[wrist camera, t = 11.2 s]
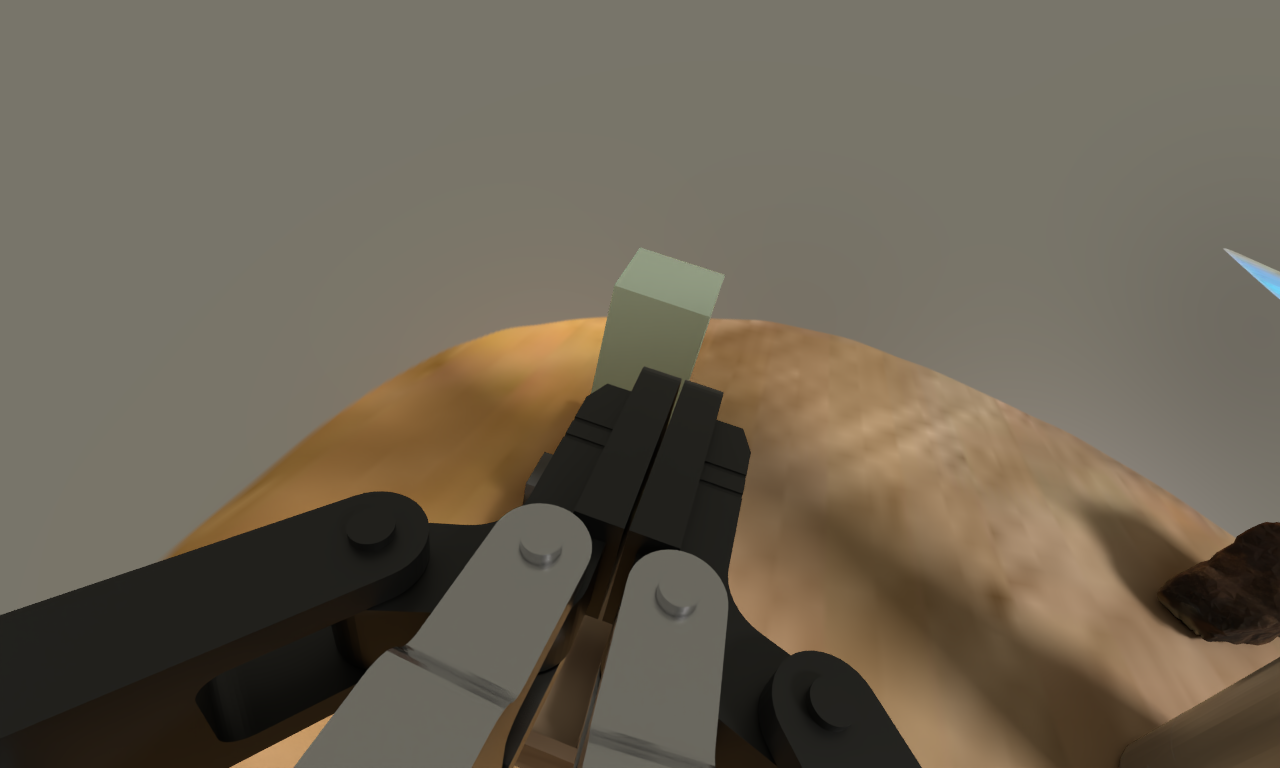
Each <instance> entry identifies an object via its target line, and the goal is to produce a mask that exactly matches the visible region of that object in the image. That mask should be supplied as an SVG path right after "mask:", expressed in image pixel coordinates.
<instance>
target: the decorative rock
mask: <svg viewBox="0 0 1280 768" xmlns="http://www.w3.org/2000/svg"><path fill="white" fill-rule="evenodd" d="M1157 597H1158V599H1159V601H1160V602H1161V603H1162V604H1163V605H1164V606H1165V607H1166V608H1168V609H1169V610H1170V611H1171V612H1172V613H1173V614H1174V616H1175V617H1177V618H1179V619H1181V620H1182V622H1183V623H1185V624H1186V625H1187V626H1188V627H1189V629H1191V630H1193V631H1194V632H1195V633H1196V634H1197V635H1199V634H1200V635H1202V638H1203V639H1204V640H1206V641H1208V642H1212V641H1226V642H1230V643H1233V644H1236V645H1237V644H1242V643H1246V644H1253V645H1262V644H1266V643H1269V642H1271V641H1272V640H1274V639H1275V638H1276V637H1277V636H1278V637H1280V523H1278V522H1276V523H1269V522H1265V523H1262V524H1259V525H1257V526H1255V527H1252V528H1250V529H1248V530H1247V531H1245V532H1244V533H1242V534H1240V535H1238V536H1237V537H1236V539H1235V542H1234V543H1233V544H1231V545H1229V546H1227V547H1226V548H1224V549H1222V550H1221V551H1219V552H1217V553H1216V554H1215V555H1214V556H1213V557H1212V558H1211V559H1210V560H1208V561H1204V562H1201V563H1199V564H1197V565H1196V566H1194V567H1192V568H1190V569H1188V570H1186V571H1184V572H1181V573H1180V574H1178V575H1176V576H1175V577H1173V578H1172V579H1170V580H1169V581H1167V582H1166V583H1165V585H1164V586H1163V587H1162V588H1160V589H1159V591H1158V593H1157Z"/></svg>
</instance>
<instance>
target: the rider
mask: <svg viewBox="0 0 1280 768" xmlns="http://www.w3.org/2000/svg"><path fill="white" fill-rule="evenodd" d="M724 276H725V275H723V274H720V273H717V272H714V271H711V270H708V269H705V268H702V267H699V266H696V265H692V264H690V263H686V262H683V261H680V260H677V259H674V258H671V257H668V256H665V255H662V254H659V253H656V252H653V251H649V250H646V249H643V248H640V249H639V250H638V252H637V253H636V255H635V256H634V258H633V259H632V260H631V262H630V263H629V265H628V266H627V268H626V269H625V271H624V272H623V273H622V275H621V276H620V278H619V280H618V281H617V282H616V284H615V285H614V290H613V294H612V299H611V303H610V308H609V313H608V317H607V322H606V326H605V331H604V336H603V340H602V345H601V350H600V354H599V359H598V364H597V368H596V373H595V378H594V382H593V387H592V392H591V394H592V393H593V392H595V391H596V390H598V389H599V388H601V387H602V386H604V385H606V384H607V383H608V384H611V385H614V386H617V387H620V388H623V389H626V390H628V391H632V389H633V387H634V385H635V383H636V381H637V379H638V376H639V374H640V372H641V370H642V368H643V367H644V366H645V367H648V368H651V369H654V370H657V371H660V372H663V373H666V374H669V375H672V376H675V377H678V378H681V379H682V381H681V384H680V388H679V391H678V394H677V398H676V401H675V404H674V407H673V410H672V414H673V411H674V408H675V406H676V403H677V400H678V398H679V395H680V392H681V390H682V387H683V384H684V382H685V380H688V381H689V380H690V377H691V374H692V371H693V368H694V365H695V362H696V359H697V356H698V353H699V350H700V347H701V344H702V341H703V338H704V336H705V333H706V330H707V327H708V324H709V321H710V318H711V315H712V312H713V309H714V306H715V303H716V300H717V297H718V294H719V291H720V288H721V285H722V282H723V279H724ZM672 414H671V416H672ZM670 419H671V417H670ZM669 422H670V420H669ZM668 424H669V423H668Z"/></svg>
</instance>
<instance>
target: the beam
mask: <svg viewBox="0 0 1280 768" xmlns="http://www.w3.org/2000/svg"><path fill="white" fill-rule="evenodd" d="M552 456H553V455H552V454H549V453H546V452H544V454H543V456H542V457H541V459H540V461H539V462H538V464H537V466H536V467H535V469H534V471H533V472H532V474H531V476H530V478H529V479H528V481H527V483H526V487H525V494H524V501H523V504H524V503H525V502H526V501H527V499H528V498H529V496H530V494H531V493H532V491H533V489H534V487H535V486H536V484H537V482H538V481H539V479H540V477H541V475H542V474H543V472H544V470H545V468H546V467H547V465H548V463H549V461H550V460H551V458H552ZM620 559H621V558H620ZM619 562H620V561H619ZM618 566H619V564H618ZM617 569H618V567H617ZM617 569H616V572H617ZM616 572H615V575H614V577H613V580H612V583H611V586H610V588H609V591H608V594H607V596H606V599H605V602H604V604H603V607H602V610H601V613H600V615H599V618H598V619H595V618H593V617H590V616H587V615H585V616H584V618H583V621H582V624H581V626H580V629H579V631H578V634H577V636H576V639H575V641H574V644H573V646H572V648H571V650H570V652H569V653H568V654H567V656H566V658H565V661H564V664H563V666H562V668H561V670H560V672H559V674H558V676H557V678H556V680H555V682H554V684H553V686H552V688H551V690H550V693H549V695H548V697H547V699H546V701H545V703H544V705H543V707H542V709H541V711H540V713H539V715H538V717H537V719H536V721H535V723H534V726H533V728H532V730H531V732H530V734H529V736H528V738H527V740H526V742H525V744H524V746H523V748H522V750H521V752H520V754H519V757H518V759H517V761H516V763H515V766H518V767H520V768H572V767H573V763H574V759H575V755H576V751H577V748H578V744H579V740H580V736H581V732H582V728H583V725H584V721H585V717H586V713H587V709H588V705H589V702H590V698H591V694H592V690H593V686H594V682H595V679H596V675H597V672H598V669H599V666H600V663H601V660H602V656H603V653H604V650H605V647H606V644H607V641H608V638H609V634H610V631H611V628H612V624H610V623H607V622H604V621H602V619H603V616H604V613H605V609H606V606H607V603H608V599H609V596H610V593H611V589H612V586H613V582H614V579H615V576H616Z"/></svg>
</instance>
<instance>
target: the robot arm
mask: <svg viewBox="0 0 1280 768" xmlns="http://www.w3.org/2000/svg"><path fill="white" fill-rule="evenodd" d="M681 381H682V379H681V378H678V377H675V376H672V375H669V374H666V373H663V372H660V371H657V370H654V369H651V368H648V367H645V366H644V367H643V368H642V370H641V372H640V374H639V376H638V379H637V381H636V383H635V385H634V387H633V389H632V391H628V390H626V389H623V388H620V387H617V386H614V385H611V384H608V383H607V384H606V385H604V386H602V387H601V388H599V389H598V390H596V391H595V392H593V393H592V394H590V395H589V396H587V397H586V399H585V400H584V402H583V404H582V406H581V407H580V409H579V411H578V413H577V414H576V416H575V419H574V420H573V421H572V423H571V425H570V427H569V428H568V430H567V432H566V435H565V437H563V439H562V440H561V442H560V444H559V446H558V447H557V449H556V451H555V453H554V454H553V456H552V458H551V460H550V461H549V463H548V465H547V467H546V468H545V470H544V472H543V474H542V475H541V477H540V479H539V481H538V482H537V484H536V486H535V487H534V489H533V491H532V493H531V494H530V496H529V498H528V499H527V501H526V502H525V503H524V504H523V505H522V506H521V507H518V508H515V509H513V510H512V511H510V512H508V513H507V514H505V515H504V516H503V517H502V518H501V519H500V520H498V521H496V522H492V523H488V524H482V525H455V524H439V523H428V519H427V516H426V514H425V512H424V511H423V509H422V508H421V507H420V506H419V505H418V504H417V503H416V502H415V501H413V500H412V499H410V498H408V497H406V496H403V495H401V494H397V493H393V492H369V493H363V494H360V495H356V496H353V497H350V498H347V499H344V500H341V501H338V502H335V503H332V504H329V505H326V506H323V507H320V508H317V509H314V510H311V511H308V512H305V513H302V514H299V515H296V516H293V517H290V518H287V519H285V520H282V521H279V522H276V523H273V524H270V525H267V526H264V527H261V528H258V529H255V530H252V531H249V532H246V533H243V534H240V535H237V536H234V537H231V538H228V539H225V540H222V541H219V542H216V543H213V544H210V545H207V546H204V547H201V548H198V549H195V550H193V551H190V552H187V553H184V554H181V555H178V556H175V557H172V558H169V559H166V560H163V561H160V562H157V563H154V564H151V565H148V566H146V567H142V568H140V569H136V570H133V571H130V572H127V573H124V574H121V575H118V576H116V577H112V578H109V579H107V580H104V581H101V582H98V583H95V584H92V585H89V586H86V587H83V588H80V589H77V590H74V591H71V592H68V593H65V594H62V595H59V596H56V597H53V598H50V599H47V600H44V601H41V602H38V603H35V604H32V605H29V606H27V607H23V608H21V609H17V610H14V611H11V612H9V613H6V614H3V615H0V768H229V767H231V766H233V765H235V764H237V763H239V762H241V761H243V760H245V759H247V758H249V757H251V756H253V755H255V754H256V753H258V752H260V751H262V750H264V749H266V748H268V747H270V746H272V745H274V744H276V743H278V742H280V741H282V740H284V739H286V738H287V737H289V736H291V735H293V734H295V733H297V732H299V731H301V730H303V729H305V728H307V727H309V726H311V725H313V724H315V723H317V722H318V721H320V720H322V719H324V718H326V717H328V716H330V715H332V714H334V715H333V716H332V717H331V719H330V720H329V721H328V723H327V724H326V725H325V727H324V728H323V729H322V731H321V732H320V733H319V735H318V736H317V737H316V739H315V740H314V741H313V743H312V744H311V745H310V747H309V748H308V749H307V751H306V752H305V753H304V755H303V756H302V757H301V759H300V760H299V761H298V763H297V764H296V765H295V766H294V768H513V767H514V765H515V763H516V761H517V759H518V757H519V754H520V752H521V750H522V748H523V746H524V744H525V742H526V740H527V738H528V736H529V734H530V732H531V730H532V728H533V726H534V723H535V721H536V719H537V717H538V715H539V713H540V711H541V709H542V707H543V705H544V703H545V701H546V699H547V697H548V695H549V693H550V690H551V688H552V686H553V684H554V682H555V680H556V678H557V676H558V674H559V672H560V670H561V668H562V666H563V664H564V661H565V658H566V656H567V654H568V653H569V652H570V650H571V648H572V646H573V644H574V641H575V639H576V636H577V634H578V631H579V629H580V626H581V624H582V621H583V618H584V616H585V615H587V616H590V617H593V618H595V619H598V618H599V615H600V613H601V610H602V607H603V604H604V602H605V599H606V596H607V594H608V591H609V588H610V586H611V583H612V580H613V577H614V575H615V572H616V569H617V567H618V569H617V572H616V576H615V579H614V582H613V586H612V589H611V593H610V596H609V599H608V603H607V606H606V609H605V613H604V616H603V619H602V621H604V622H607V623H610V624H612V628H611V631H610V634H609V638H608V641H607V644H606V647H605V650H604V653H603V656H602V660H601V663H600V666H599V669H598V672H597V675H596V679H595V682H594V686H593V690H592V694H591V698H590V702H589V705H588V709H587V713H586V717H585V721H584V725H583V728H582V732H581V736H580V740H579V744H578V748H577V751H576V755H575V759H574V763H573V767H572V768H922V767H921V766H920V764H919V763H918V761H917V759H916V758H915V756H914V755H913V753H912V752H911V750H910V749H909V747H908V745H907V744H906V742H905V741H904V739H903V738H902V736H901V734H900V733H899V731H898V730H897V728H896V727H895V725H894V724H893V722H892V720H891V719H890V717H889V716H888V714H887V713H886V711H885V709H884V708H883V706H882V705H881V703H880V702H879V700H878V699H877V697H876V695H875V694H874V692H873V691H872V689H871V688H870V686H869V685H868V684H867V682H866V681H865V680H864V679H863V678H862V676H861V675H860V674H859V673H858V672H857V671H856V670H854V669H853V668H852V667H851V666H850V665H848V664H847V663H845V662H844V661H842V660H841V659H839V658H837V657H835V656H833V655H830V654H827V653H824V652H819V651H802V652H798V653H795V654H793V655H789V654H788V653H787V652H785V651H784V650H783V649H781V648H780V647H779V646H777V645H776V644H774V643H773V642H772V641H770V640H769V639H768V638H766V637H765V636H764V635H762V634H761V633H760V632H758V631H757V630H756V629H755V628H754V627H752V626H751V624H750V623H749V622H748V621H747V620H746V619H745V618H744V617H743V615H742V614H741V613H740V611H739V610H738V608H737V606H736V604H735V603H734V601H733V598H732V595H731V593H730V589H729V585H728V569H729V564H730V558H731V553H732V548H733V543H734V537H735V532H736V527H737V522H738V517H739V511H740V506H741V501H742V495H743V490H744V485H745V480H746V479H745V478H746V475H747V469H748V464H749V459H750V454H751V452H750V449H749V445H748V442H747V439H746V436H745V433H744V430H743V429H742V428H739V427H736V426H733V425H730V424H727V423H724V422H721V421H718V420H716V419H717V415H718V411H719V408H720V404H721V400H722V397H723V392H721V391H718V390H715V389H712V388H709V387H706V386H703V385H700V384H697V383H694V382H691V381H688V380H685V382H684V384H683V387H682V390H681V392H680V395H679V398H678V400H677V403H676V406H675V408H674V411H673V414H672V410H673V407H674V404H675V401H676V398H677V394H678V391H679V388H680V384H681ZM671 414H672V416H671ZM670 417H671V419H670ZM669 420H670V422H669ZM668 423H669V424H668ZM620 558H621V559H620ZM619 561H620V562H619ZM618 564H619V566H618ZM1119 768H1280V657H1279V658H1278V659H1276V660H1274V661H1272V662H1271V663H1269V664H1267V665H1265V666H1264V667H1262V668H1260V669H1259V670H1257V671H1255V672H1253V673H1252V674H1250V675H1248V676H1247V677H1245V678H1243V679H1241V680H1240V681H1238V682H1236V683H1234V684H1233V685H1231V686H1229V687H1228V688H1226V689H1224V690H1222V691H1221V692H1219V693H1217V694H1215V695H1214V696H1212V697H1210V698H1209V699H1207V700H1205V701H1203V702H1202V703H1200V704H1198V705H1196V706H1195V707H1193V708H1191V709H1190V710H1188V711H1186V712H1184V713H1182V714H1180V715H1179V716H1177V717H1175V718H1174V719H1172V720H1170V721H1169V722H1167V723H1165V724H1163V725H1162V726H1160V727H1158V728H1157V729H1155V730H1153V731H1152V732H1150V733H1148V734H1146V735H1145V736H1143V737H1141V738H1140V739H1138V740H1136V741H1135V742H1133V743H1132V744H1130V745H1128V746H1127V748H1126V749H1125V751H1124V752H1123V754H1122V756H1121V761H1120V766H1119Z"/></svg>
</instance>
